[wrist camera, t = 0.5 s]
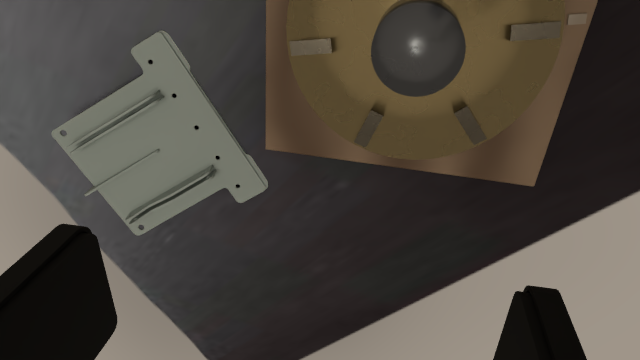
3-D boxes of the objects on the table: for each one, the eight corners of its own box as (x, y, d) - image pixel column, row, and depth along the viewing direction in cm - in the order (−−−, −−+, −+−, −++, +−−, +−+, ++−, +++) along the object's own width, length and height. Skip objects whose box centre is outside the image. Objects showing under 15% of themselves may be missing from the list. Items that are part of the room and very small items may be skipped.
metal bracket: (137, 268, 40) (10, 122, 35) (154, 236, 46) (47, 105, 40) (279, 188, 38) (169, 22, 33) (280, 165, 44) (185, 18, 39)
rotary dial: (596, -109, 25) (650, -115, 19) (513, 159, 33) (534, 212, 27) (299, -127, 27) (266, -138, 21) (290, 130, 35) (265, 173, 29)
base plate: (634, -148, 25) (652, -153, 23) (528, 173, 35) (534, 187, 33) (275, -167, 28) (265, -173, 26) (272, 138, 38) (265, 150, 36)
